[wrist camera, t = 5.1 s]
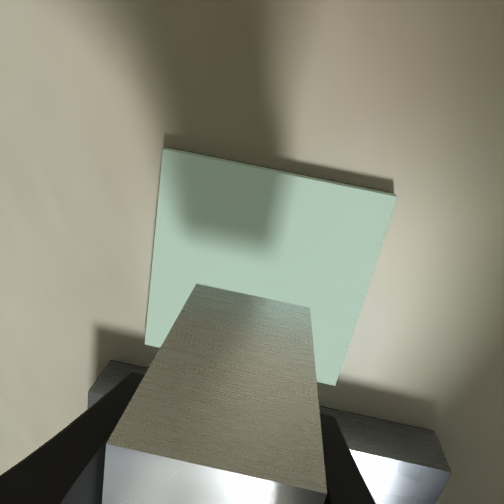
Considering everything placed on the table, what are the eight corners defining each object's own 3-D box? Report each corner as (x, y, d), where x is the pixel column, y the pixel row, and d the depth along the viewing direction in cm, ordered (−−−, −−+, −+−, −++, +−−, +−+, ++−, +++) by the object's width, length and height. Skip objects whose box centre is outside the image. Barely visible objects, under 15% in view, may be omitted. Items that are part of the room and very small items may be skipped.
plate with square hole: (434, 431, 21) (452, 474, 19) (378, 547, 25) (387, 595, 22) (110, 360, 22) (87, 392, 19) (103, 485, 25) (83, 525, 23)
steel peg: (310, 307, 13) (326, 493, 7) (285, 399, 15) (280, 627, 8) (196, 283, 14) (105, 443, 7) (182, 377, 15) (95, 584, 8)
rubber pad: (394, 193, 17) (397, 196, 16) (334, 378, 20) (335, 385, 20) (167, 147, 17) (162, 149, 16) (148, 337, 21) (144, 344, 20)
